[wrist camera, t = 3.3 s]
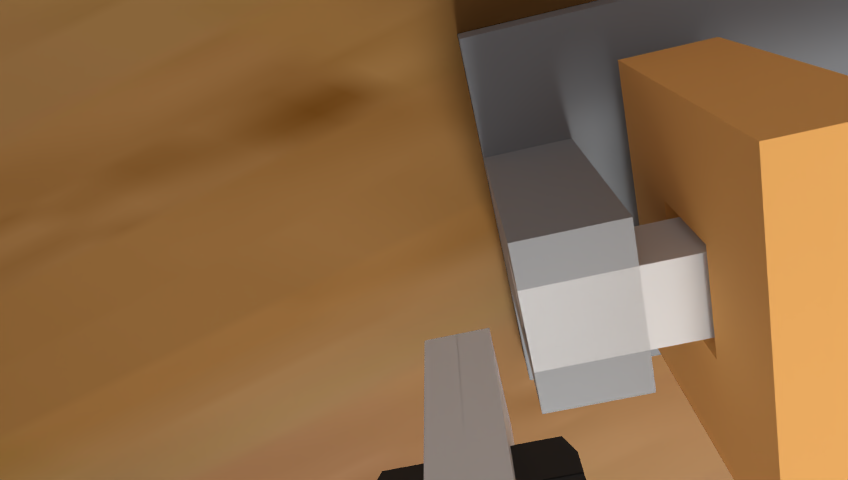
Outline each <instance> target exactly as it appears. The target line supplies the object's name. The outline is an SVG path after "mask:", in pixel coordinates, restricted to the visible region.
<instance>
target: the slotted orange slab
mask: <svg viewBox="0 0 848 480" xmlns="http://www.w3.org/2000/svg"><path fill="white" fill-rule="evenodd" d="M618 65H619V73H620V81H621V88H622V96H623V104H624V111H625V119H626V127H627V134H628V142H629V150H630V157H631V165H632V173H633V180H634V188H635V196H636V203H637V211H638V219H639V225H644V224H648V223H653V222H658V221H663V220H667V219H672V218H677V217H680V218H681V219H682V220H683V221H684V222H685V223H686V224H687V225H688V226H689V227H690V228H691V229H692V230H693V231H694V232H695V233H696V235H697V236H698V237H699V238H700V239H701V240H702V241H703V242H704V243H705V244H706V251H707V261H708V272H709V282H710V293H711V303H712V314H713V324H714V335H715V337H714V338H709V339H704V340H699V341H694V342H689V343H684V344H679V345H673V346H668V347H663V348H658V350H659V351H660V353H661V355H662V356H663V358H664V360H665V362H666V363H667V365H668V367H669V369H670V370H671V372H672V374H673V375H674V377H675V379H676V381H677V382H678V384H679V386H680V387H681V389H682V391H683V393H684V394H685V396H686V398H687V400H688V401H689V403H690V405H691V406H692V408H693V410H694V412H695V413H696V415H697V417H698V418H699V420H700V422H701V424H702V425H703V427H704V429H705V430H706V432H707V434H708V436H709V437H710V439H711V441H712V443H713V444H714V446H715V448H716V449H717V451H718V453H719V455H720V456H721V458H722V460H723V461H724V463H725V465H726V467H727V468H728V470H729V472H730V473H731V475H732V477H733V479H734V480H848V75H844V74H841V73H838V72H834V71H831V70H828V69H824V68H821V67H818V66H814V65H811V64H808V63H804V62H801V61H798V60H794V59H791V58H788V57H784V56H781V55H778V54H774V53H771V52H767V51H764V50H761V49H757V48H754V47H751V46H747V45H744V44H741V43H737V42H734V41H731V40H727V39H724V38H721V37H715V38H711V39H707V40H702V41H698V42H694V43H689V44H685V45H681V46H676V47H672V48H668V49H663V50H659V51H655V52H650V53H646V54H642V55H637V56H633V57H629V58H624V59H620V60H618Z"/></svg>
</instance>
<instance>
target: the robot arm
mask: <svg viewBox="0 0 848 480" xmlns="http://www.w3.org/2000/svg"><path fill="white" fill-rule="evenodd" d="M377 480H586V478H585V476H584V472H583V468H582V465H581V462H580V458H579V455H578V452H577V451H576V450H575V449H574V448H573V447H572V446H571V445H570V444H569V443H568V442H567V441H566V440H565V439H564V438H563V437H562V436H560V437H555V438H550V439H544V440H539V441H533V442H528V443H523V444H517V445H514V440H513V434H512V428H511V423H510V419H509V414H508V410H507V405H506V401H505V396H504V392H503V387H502V383H501V379H500V374H499V370H498V365H497V361H496V356H495V352H494V347H493V343H492V338H491V334H490V329H489V328H486V329H481V330H476V331H471V332H466V333H461V334H456V335H451V336H446V337H441V338H436V339H431V340H426V341H425V376H424V464H419V465H414V466H408V467H403V468H397V469H392V470H387V471H382V473H381V474H380V476H379V478H378V479H377Z"/></svg>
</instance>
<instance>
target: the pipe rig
mask: <svg viewBox="0 0 848 480" xmlns="http://www.w3.org/2000/svg"><path fill="white" fill-rule="evenodd" d="M457 35H458V40H459V45H460V49H461V54H462V59H463V64H464V69H465V73H466V78H467V83H468V88H469V93H470V97H471V102H472V107H473V112H474V117H475V121H476V126H477V131H478V136H479V141H480V145H481V150H482V155H483V160H484V165H485V169H486V174H487V179H488V184H489V189H490V193H491V198H492V203H493V208H494V213H495V217H496V222H497V227H498V232H499V237H500V242H501V246H502V251H503V256H504V261H505V266H506V270H507V275H508V280H509V285H510V290H511V294H512V299H513V304H514V309H515V314H516V318H517V323H518V328H519V333H520V338H521V342H522V347H523V352H524V357H525V361H526V365H527V370H528V374H529V378H530V380H533V379H534V382H535V386H536V390H537V394H538V398H539V402H540V406H541V410H542V414H545V413H550V412H556V411H561V410H566V409H571V408H577V407H582V406H587V405H592V404H598V403H603V402H608V401H613V400H618V399H624V398H629V397H634V396H639V395H645V394H650V393H655V392H656V388H655V381H654V373H653V366H652V358H651V356H656V355H661V353H660V351H659V350H658V348H663V347H668V346H673V345H679V344H684V343H689V342H694V341H699V340H704V339H709V338H714V337H715V335H714V324H713V314H712V303H711V293H710V282H709V272H708V261H707V251H706V244H705V243H704V242H703V241H702V240H701V239H700V238H699V237H698V236H697V235H696V233H695V232H694V231H693V230H692V229H691V228H690V227H689V226H688V225H687V224H686V223H685V222H684V221H683V220H682V219H681V218H680V217H677V218H672V219H667V220H663V221H658V222H653V223H648V224H644V225H639V219H638V211H637V203H636V196H635V188H634V180H633V173H632V165H631V157H630V150H629V142H628V134H627V127H626V119H625V111H624V104H623V96H622V88H621V81H620V73H619V65H618V60H620V59H624V58H629V57H633V56H637V55H642V54H646V53H650V52H655V51H659V50H663V49H668V48H672V47H676V46H681V45H685V44H689V43H694V42H698V41H702V40H707V39H711V38H715V37H721V38H724V39H727V40H731V41H734V42H737V43H741V44H744V45H747V46H751V47H754V48H757V49H761V50H764V51H767V52H771V53H774V54H778V55H781V56H784V57H788V58H791V59H794V60H798V61H801V62H804V63H808V64H811V65H814V66H818V67H821V68H824V69H828V70H831V71H834V72H838V73H841V74H844V75H848V0H598V1H593V2H589V3H585V4H581V5H577V6H573V7H568V8H564V9H560V10H556V11H552V12H547V13H543V14H539V15H535V16H531V17H526V18H522V19H518V20H514V21H510V22H506V23H501V24H497V25H493V26H489V27H485V28H480V29H476V30H472V31H468V32H464V33H459V34H457Z"/></svg>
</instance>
